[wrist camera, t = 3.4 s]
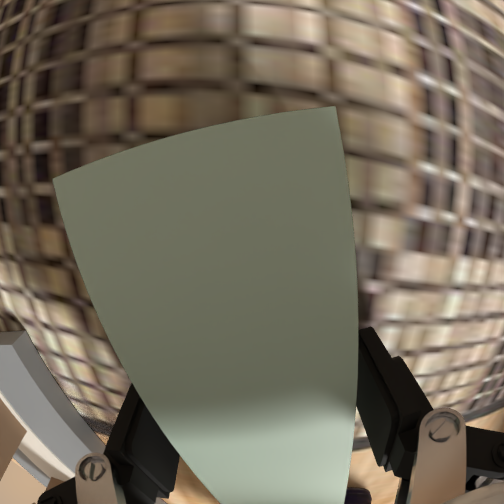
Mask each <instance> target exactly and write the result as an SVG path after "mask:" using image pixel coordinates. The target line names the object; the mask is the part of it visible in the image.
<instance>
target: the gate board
mask: <svg viewBox="0 0 504 504" xmlns="http://www.w3.org/2000/svg"><path fill="white" fill-rule="evenodd" d="M105 447H106V445H105V444H104V443H103V442H102V441H101V440H100V439H99V438H98V436H97V435H96V434H95V433H94V432H93V431H92V429H91V428H90V427H89V426H88V424H87V423H86V422H85V421H84V419H83V418H82V417H81V416H80V414H79V413H78V412H77V410H76V409H75V408H74V406H73V405H72V404H71V402H70V401H69V400H68V398H67V397H66V396H65V394H64V393H63V391H62V390H61V388H60V387H59V385H58V384H57V382H56V381H55V379H54V378H53V376H52V375H51V373H50V372H49V370H48V369H47V367H46V365H45V364H44V362H43V360H42V359H41V357H40V355H39V354H38V352H37V350H36V348H35V347H34V345H33V343H32V341H31V339H30V338H29V336H28V334H27V332H26V331H12V332H0V480H1V478H2V477H3V474H4V473H5V471H6V469H7V467H8V465H9V463H10V461H11V459H12V457H13V458H14V459H15V460H16V461H17V462H18V463H19V464H20V465H21V466H22V467H23V468H24V469H26V470H27V471H28V472H29V473H30V474H31V475H32V476H34V477H35V478H36V479H37V480H38V481H39V482H41V483H42V484H43V485H44V486H46V487H47V488H46V491H47V490H49V489H51V488H53V487H55V486H57V485H59V484H61V483H63V482H65V481H67V480H69V479H71V478H73V477H75V467H76V465H77V462H78V461H79V460H80V459H81V458H82V457H83V456H85V455H87V454H89V453H95V452H97V453H101V454H103V452H104V450H105ZM155 504H167V503H165V502H164V501H163V500H162V499H161V498H158V497H157V498H156V503H155Z"/></svg>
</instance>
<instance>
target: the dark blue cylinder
mask: <svg viewBox="0 0 504 504" xmlns="http://www.w3.org/2000/svg"><path fill="white" fill-rule="evenodd" d="M371 500H372V498H371V495H370V492H369V491H368V490H366V489H362V488H347V489H346V495H345V501H344V504H371Z"/></svg>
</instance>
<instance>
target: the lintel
mask: <svg viewBox="0 0 504 504" xmlns="http://www.w3.org/2000/svg"><path fill="white" fill-rule="evenodd" d="M52 180H53V184H54V189H55V193H56V197H57V201H58V205H59V208H60V212H61V216H62V219H63V223H64V226H65V229H66V233H67V236H68V239H69V242H70V245H71V248H72V251H73V254H74V257H75V260H76V263H77V265H78V268H79V271H80V274H81V276H82V279H83V281H84V284H85V287H86V289H87V292H88V294H89V296H90V299H91V301H92V304H93V306H94V308H95V310H96V313H97V315H98V317H99V319H100V322H101V324H102V326H103V328H104V330H105V332H106V334H107V337H108V339H109V341H110V343H111V345H112V347H113V349H114V351H115V352H116V354H117V356H118V358H119V360H120V362H121V364H122V366H123V368H124V369H125V371H126V373H127V375H128V377H129V378H130V380H131V382H132V384H133V385H134V387H135V389H136V390H137V392H138V394H139V395H140V397H141V399H142V400H143V402H144V404H145V405H146V407H147V408H148V410H149V412H150V413H151V415H152V416H153V418H154V419H155V421H156V422H157V424H158V425H159V427H160V428H161V430H162V431H163V433H164V434H165V435H166V437H167V438H168V440H169V441H170V442H171V444H172V445H173V447H174V448H175V449H176V451H177V452H178V453H179V455H180V456H181V457H182V459H183V460H184V461H185V462H186V464H187V465H188V466H189V468H190V469H191V470H192V471H193V473H194V474H195V475H196V476H197V477H198V479H199V480H200V481H201V482H202V483H203V485H204V486H205V487H206V488H207V489H208V490H209V491H210V493H211V494H212V495H213V496H214V497H215V498H216V499H217V500H218V501H219V503H220V504H344V501H345V495H346V489H347V483H348V476H349V469H350V462H351V454H352V445H353V436H354V425H355V413H356V398H357V379H358V290H357V269H356V254H355V241H354V229H353V219H352V210H351V201H350V193H349V185H348V177H347V170H346V164H345V157H344V151H343V145H342V139H341V134H340V128H339V123H338V118H337V113H336V108H335V106H332V107H322V108H312V109H304V110H296V111H289V112H282V113H275V114H269V115H263V116H258V117H252V118H247V119H241V120H236V121H232V122H227V123H222V124H218V125H213V126H209V127H205V128H200V129H196V130H192V131H189V132H185V133H181V134H177V135H174V136H170V137H166V138H163V139H160V140H156V141H153V142H150V143H146V144H143V145H140V146H137V147H134V148H131V149H128V150H125V151H122V152H119V153H116V154H113V155H110V156H108V157H105V158H102V159H100V160H97V161H94V162H92V163H89V164H87V165H84V166H82V167H79V168H77V169H74V170H72V171H69V172H67V173H65V174H62V175H60V176H58V177H56V178H53V179H52Z"/></svg>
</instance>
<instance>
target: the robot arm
mask: <svg viewBox="0 0 504 504" xmlns="http://www.w3.org/2000/svg"><path fill="white" fill-rule="evenodd" d="M356 406H357V409H358V411H359V414H360V417H361V420H362V422H363V425H364V428H365V431H366V434H367V436H368V439H369V442H370V445H371V448H372V451H373V453H374V456H375V459H376V462H377V465H378V466H379V467H380V466H384V469H385V472H387V471H390V470H393V473H394V476H397V477H400V480H399V485H398V490H397V495H396V499H395V504H504V433H502V432H496V431H490V430H485V429H480V428H475V427H470V426H466V425H465V421H464V418H463V417H462V415H461V414H460V413H459V412H457V411H456V410H453V409H451V408H438V409H435V410H433V408H432V406H431V404H430V403H429V401H428V399H427V398H426V396H425V394H424V393H423V391H422V389H421V388H420V386H419V385H418V383H417V381H416V380H415V378H414V376H413V375H412V373H411V372H410V370H409V369H408V367H407V365H406V364H405V362H404V361H403V359H402V358H401V357H399V356H397V357H394V358H391V356H390V354H389V353H388V351H387V350H386V348H385V346H384V345H383V343H382V341H381V340H380V338H379V337H378V335H377V333H376V332H375V330H374V329H373V328H372V327H368V328H365V329H361V330H358V379H357V398H356ZM179 457H180V455H179V453H178V452H177V451H176V449H175V448H174V447H173V445H172V444H171V442H170V441H169V440H168V438H167V437H166V435H165V434H164V433H163V431H162V430H161V428H160V427H159V425H158V424H157V422H156V421H155V419H154V418H153V416H152V415H151V413H150V412H149V410H148V408H147V407H146V405H145V404H144V402H143V400H142V399H141V397H140V395H139V394H138V392H137V390H136V389H135V387H134V385H133V384H132V383H131V386H130V388H129V390H128V393H127V395H126V398H125V400H124V402H123V405H122V407H121V409H120V412H119V414H118V417H117V419H116V422H115V424H114V427H113V429H112V432H111V434H110V437H109V439H108V442H107V445H106V447H105V450H104V452H103V454H101V453H97V452H95V453H89V454H87V455H85V456H83V457H82V458H81V459H80V460H79V461H78V462H77V465H76V467H75V477H73V478H71V479H69V480H67V481H65V482H63V483H61V484H59V485H57V486H55V487H53V488H51V489H49V490H47V491H45V492H44V493H43V494H42V495H41V496H40V497H39V500H38V503H37V504H155V503H156V498H157V497H158V498H168V499H169V493H170V492H172V491H173V490H174V486H175V480H176V474H177V469H178V463H179ZM33 504H36V503H33Z"/></svg>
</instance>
